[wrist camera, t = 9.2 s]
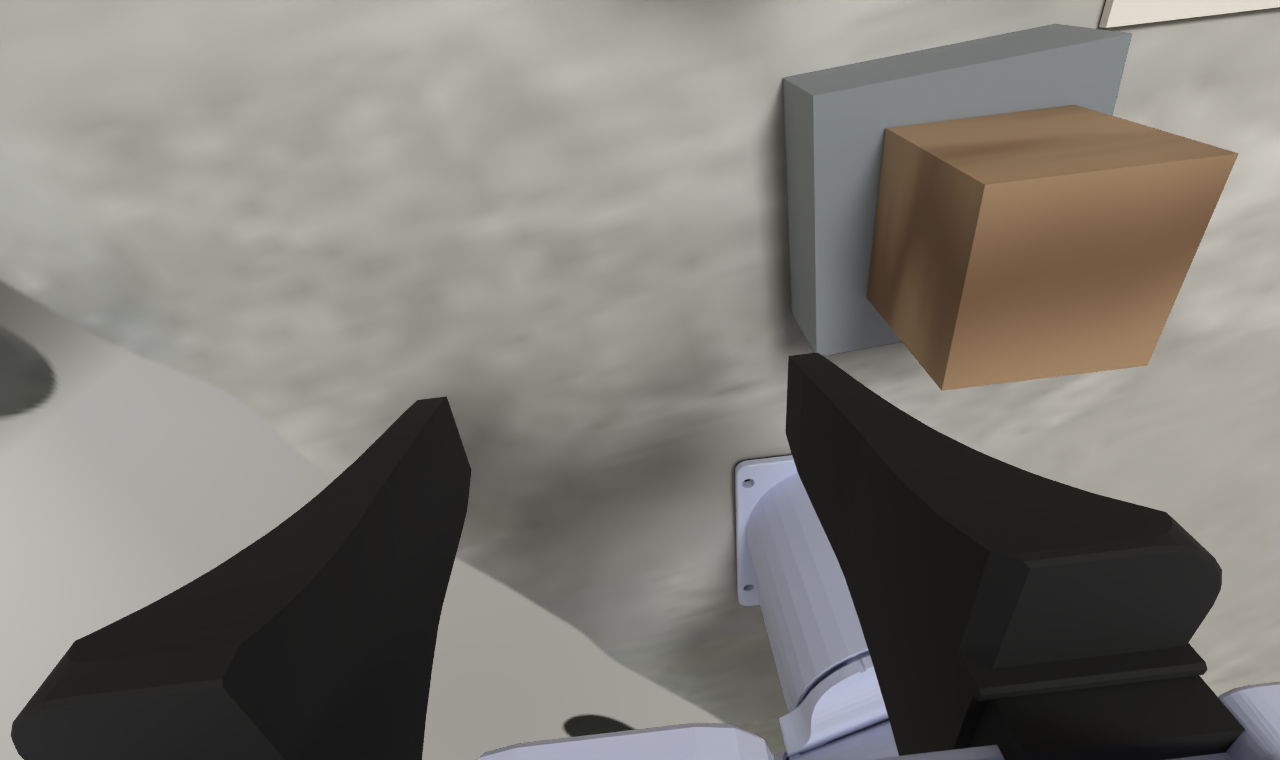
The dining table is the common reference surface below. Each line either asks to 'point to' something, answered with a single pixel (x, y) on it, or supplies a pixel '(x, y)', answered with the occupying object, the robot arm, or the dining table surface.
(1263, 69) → the dining table surface
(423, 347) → the dining table surface
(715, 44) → the dining table surface
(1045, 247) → the walnut cube
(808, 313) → the slate block
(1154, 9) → the card
